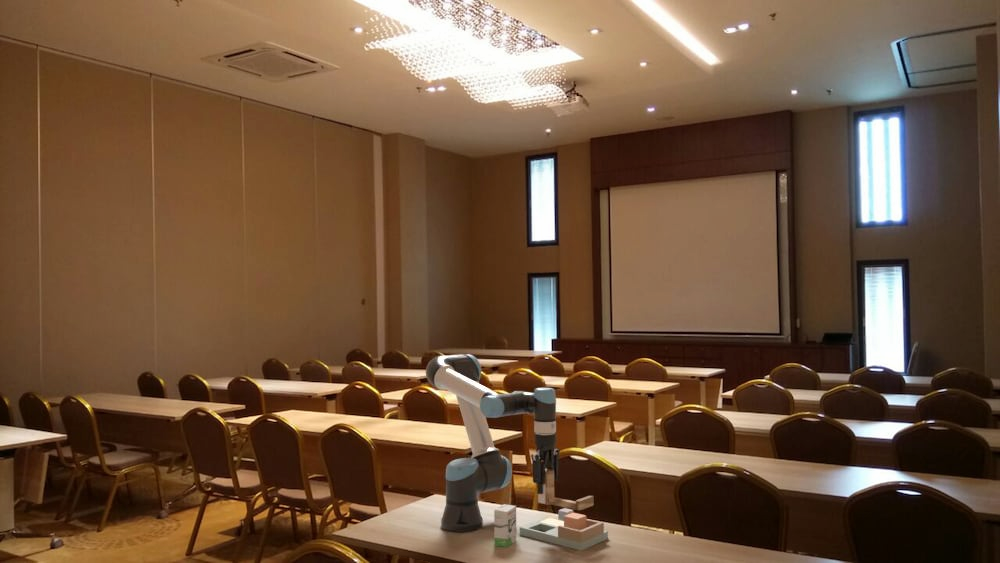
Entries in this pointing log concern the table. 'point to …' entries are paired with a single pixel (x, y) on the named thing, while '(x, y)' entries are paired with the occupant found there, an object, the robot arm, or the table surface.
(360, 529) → the table surface
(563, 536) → the grey sorting tray
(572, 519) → the block
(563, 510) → the grey block
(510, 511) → the ink box
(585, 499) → the crook
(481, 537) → the table surface
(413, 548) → the table surface
